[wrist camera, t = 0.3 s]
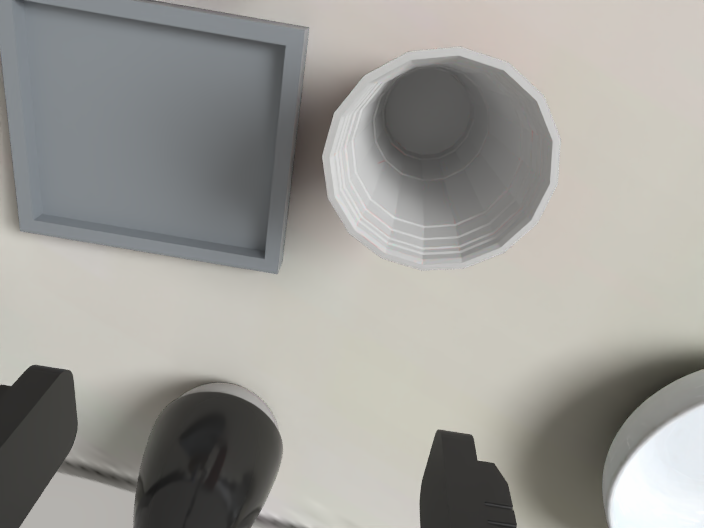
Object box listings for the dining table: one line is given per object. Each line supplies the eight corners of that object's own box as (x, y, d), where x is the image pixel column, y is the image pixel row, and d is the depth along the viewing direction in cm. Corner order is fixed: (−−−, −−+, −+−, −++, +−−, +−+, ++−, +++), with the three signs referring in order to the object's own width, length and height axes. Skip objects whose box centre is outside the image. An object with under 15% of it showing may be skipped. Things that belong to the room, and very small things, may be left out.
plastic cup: (312, 148, 38) (281, 215, 28) (393, -12, 34) (394, -6, 23) (452, 223, 40) (475, 313, 29) (547, 80, 36) (615, 125, 25)
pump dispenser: (143, 399, 49) (47, 563, 35) (234, 341, 46) (168, 496, 32) (223, 475, 52) (165, 650, 39) (314, 425, 49) (285, 598, 35)
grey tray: (12, -25, 35) (-8, -25, 33) (309, 27, 35) (304, 30, 33) (36, 220, 42) (20, 231, 40) (282, 261, 42) (277, 274, 40)
